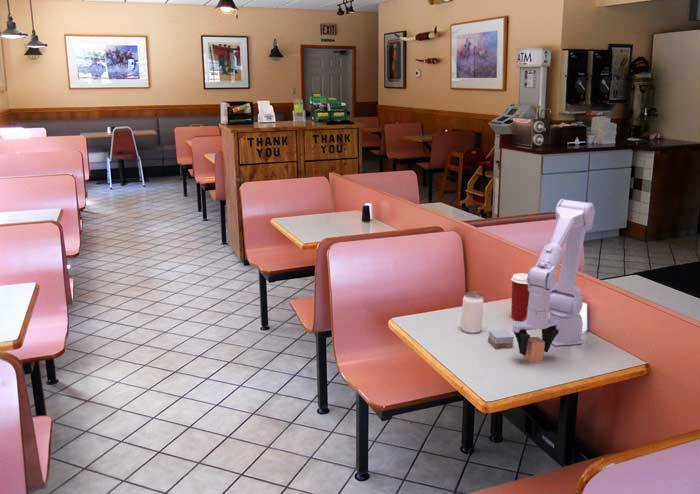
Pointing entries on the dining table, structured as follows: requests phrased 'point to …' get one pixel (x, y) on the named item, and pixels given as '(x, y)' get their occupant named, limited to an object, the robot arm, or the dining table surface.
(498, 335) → the tower upper
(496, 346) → the tower lower
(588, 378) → the dining table surface
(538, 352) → the brick block
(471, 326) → the can
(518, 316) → the coffee cup
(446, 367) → the dining table surface
